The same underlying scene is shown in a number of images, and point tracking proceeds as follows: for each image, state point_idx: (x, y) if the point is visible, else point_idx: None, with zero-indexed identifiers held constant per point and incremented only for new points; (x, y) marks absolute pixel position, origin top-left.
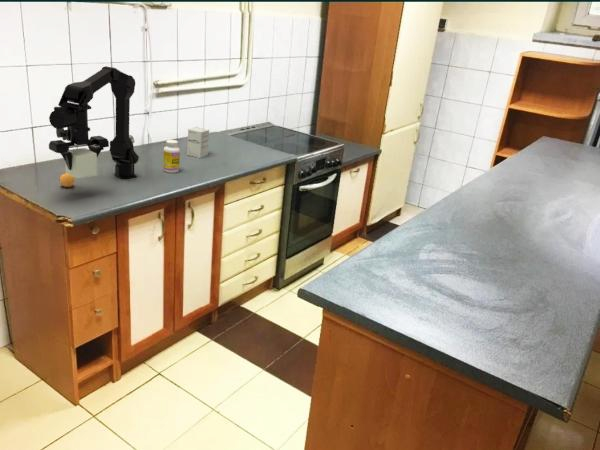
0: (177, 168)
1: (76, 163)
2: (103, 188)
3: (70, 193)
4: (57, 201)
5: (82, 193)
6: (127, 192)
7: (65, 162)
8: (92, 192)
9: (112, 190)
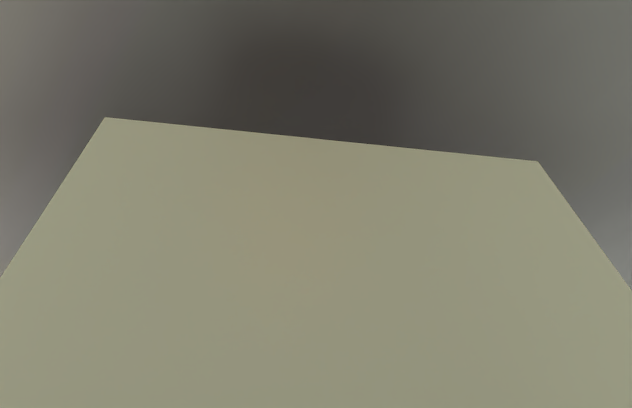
0: None
1: None
2: (594, 91)
3: (227, 9)
4: (5, 128)
5: (330, 87)
6: (624, 279)
7: (14, 282)
8: (424, 121)
9: (595, 182)
